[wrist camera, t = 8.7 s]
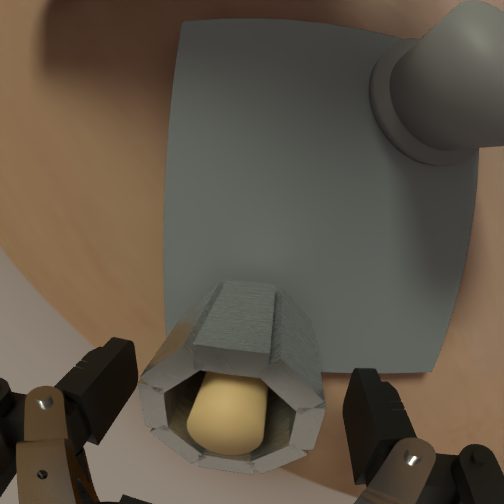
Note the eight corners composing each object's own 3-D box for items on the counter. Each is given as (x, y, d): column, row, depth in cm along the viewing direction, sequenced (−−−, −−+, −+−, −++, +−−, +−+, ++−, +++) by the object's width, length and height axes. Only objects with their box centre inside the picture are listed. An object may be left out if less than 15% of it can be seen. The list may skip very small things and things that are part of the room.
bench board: (464, 70, 11) (557, 25, 3) (424, 360, 15) (480, 453, 7) (189, 31, 12) (120, -57, 4) (174, 342, 16) (112, 442, 8)
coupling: (319, 288, 12) (339, 358, 7) (300, 394, 13) (303, 477, 8) (185, 274, 12) (130, 332, 8) (187, 380, 14) (152, 455, 9)
